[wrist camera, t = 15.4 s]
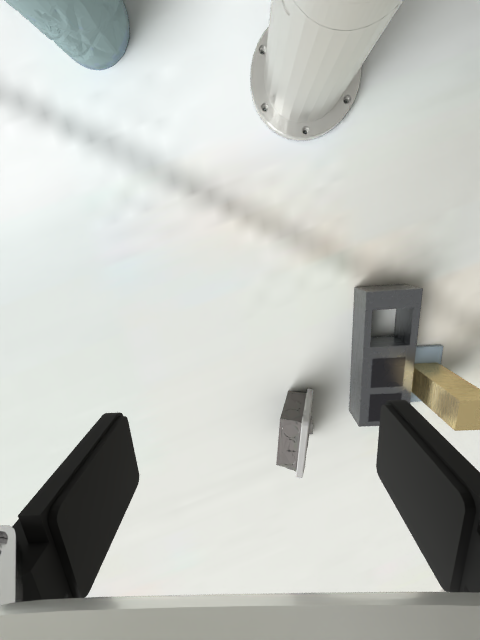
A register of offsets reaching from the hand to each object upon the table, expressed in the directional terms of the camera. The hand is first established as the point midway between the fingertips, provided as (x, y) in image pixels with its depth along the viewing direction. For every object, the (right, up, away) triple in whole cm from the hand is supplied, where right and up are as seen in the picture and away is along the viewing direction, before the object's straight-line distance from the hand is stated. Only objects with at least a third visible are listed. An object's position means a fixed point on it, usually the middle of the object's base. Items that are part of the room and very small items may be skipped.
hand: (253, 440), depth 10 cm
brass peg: (+27, -4, +31) cm, 42 cm away
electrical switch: (+8, -11, +35) cm, 37 cm away
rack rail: (+20, 0, +31) cm, 37 cm away
